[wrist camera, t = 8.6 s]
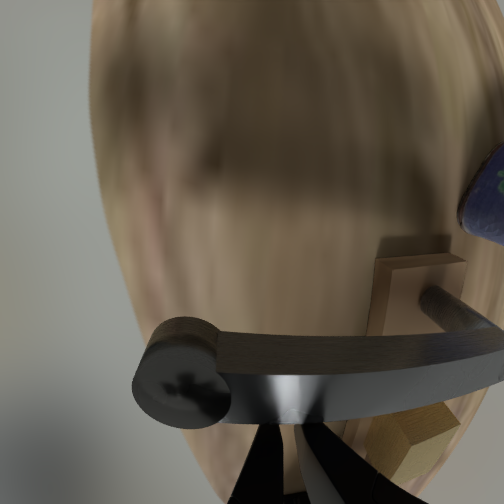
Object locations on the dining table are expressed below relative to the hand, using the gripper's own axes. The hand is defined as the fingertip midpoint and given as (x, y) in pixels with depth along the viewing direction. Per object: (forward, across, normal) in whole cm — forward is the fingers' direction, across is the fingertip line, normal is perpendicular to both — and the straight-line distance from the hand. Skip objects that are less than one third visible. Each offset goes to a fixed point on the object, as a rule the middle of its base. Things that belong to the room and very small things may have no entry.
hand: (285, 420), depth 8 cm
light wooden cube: (+7, -10, +10) cm, 15 cm away
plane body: (+9, -10, +7) cm, 15 cm away
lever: (+6, -3, -2) cm, 7 cm away
